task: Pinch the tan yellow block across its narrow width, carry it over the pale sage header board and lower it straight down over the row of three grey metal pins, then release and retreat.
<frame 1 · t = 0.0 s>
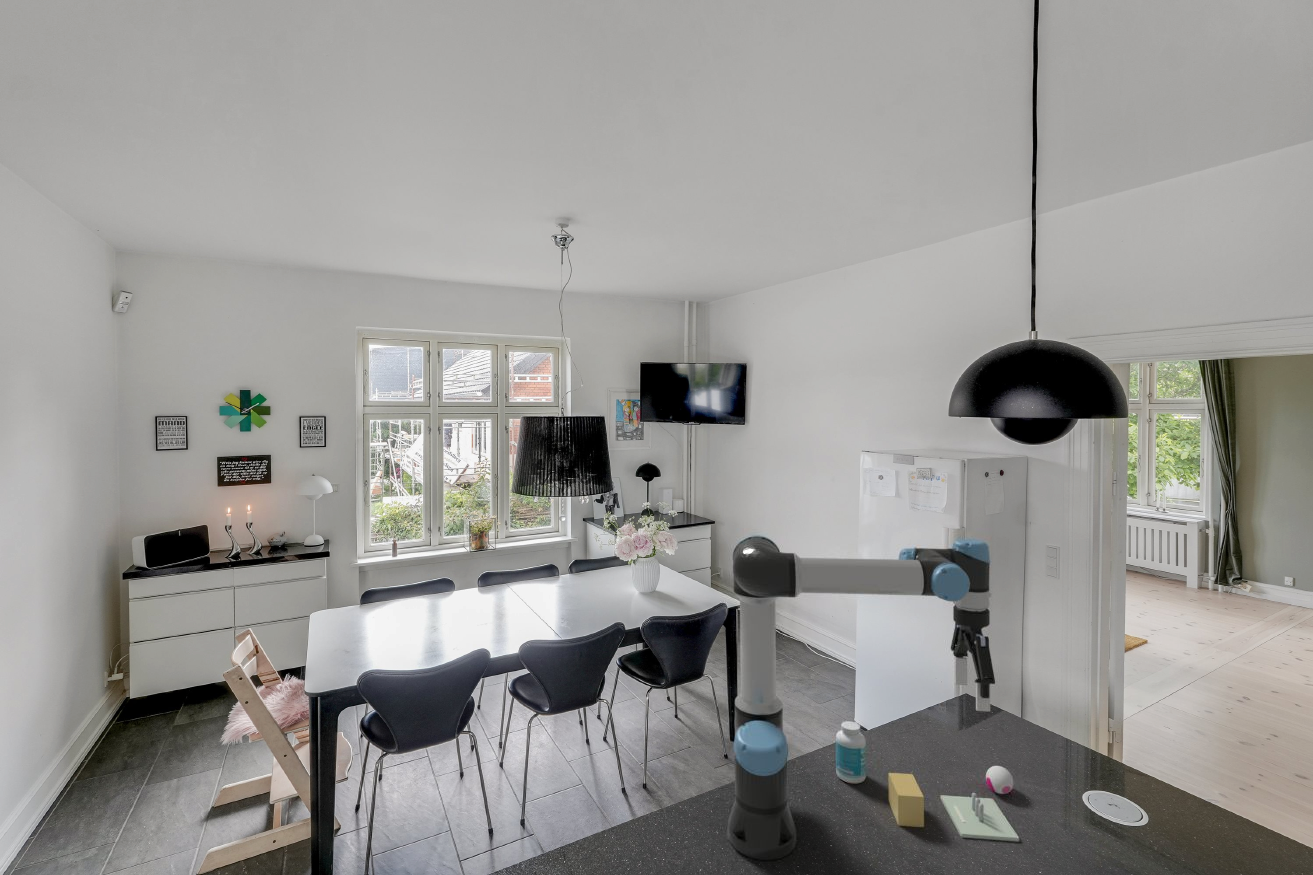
hand: (971, 696, 141), 28 cm above the worktop, fingers open, 13 cm apart
tan yellow block: (905, 813, 142), on the worktop
header board: (977, 818, 140), on the worktop
pill bottle: (850, 777, 157), on the worktop
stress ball: (996, 791, 151), on the worktop
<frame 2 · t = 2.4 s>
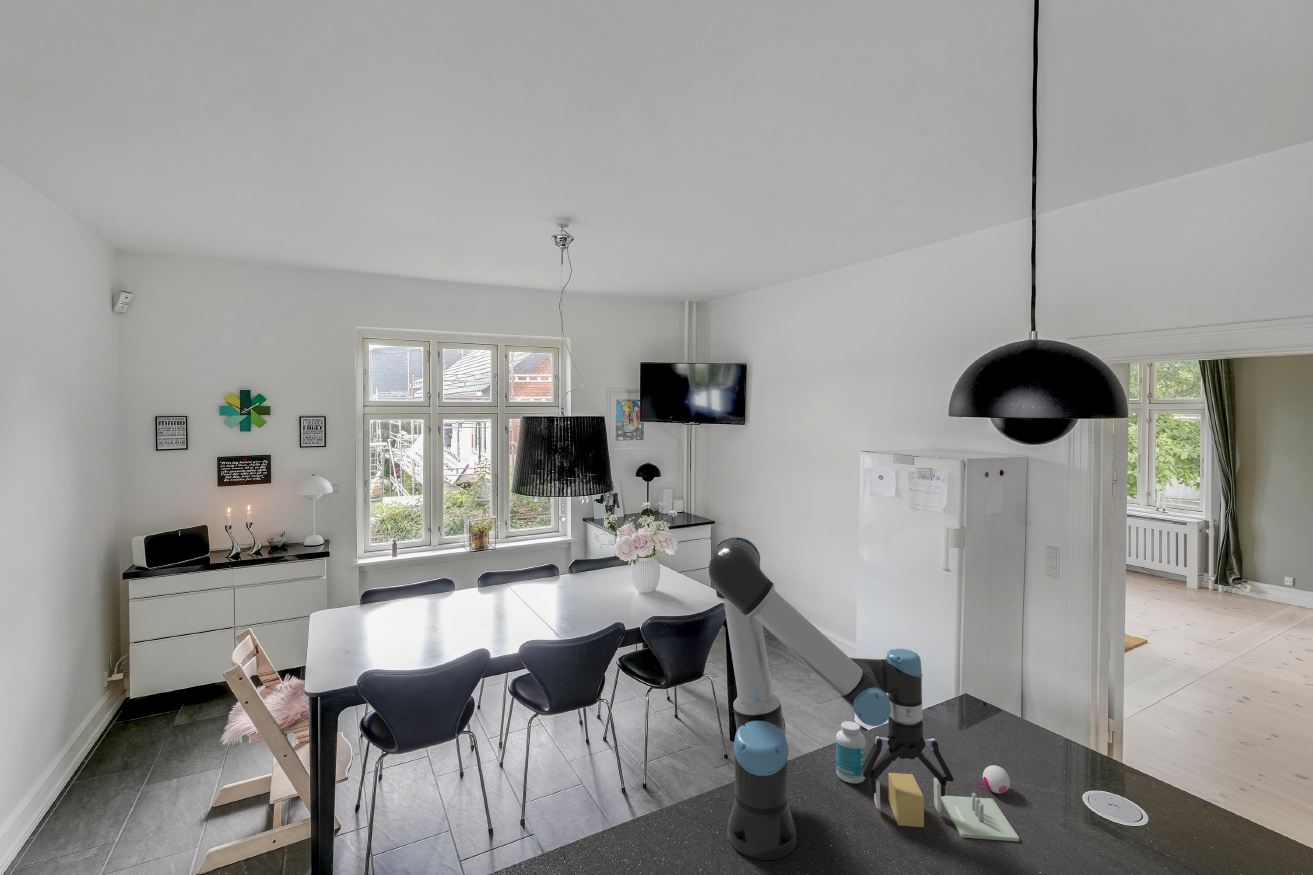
hand: (907, 806, 142), 2 cm above the worktop, fingers open, 13 cm apart
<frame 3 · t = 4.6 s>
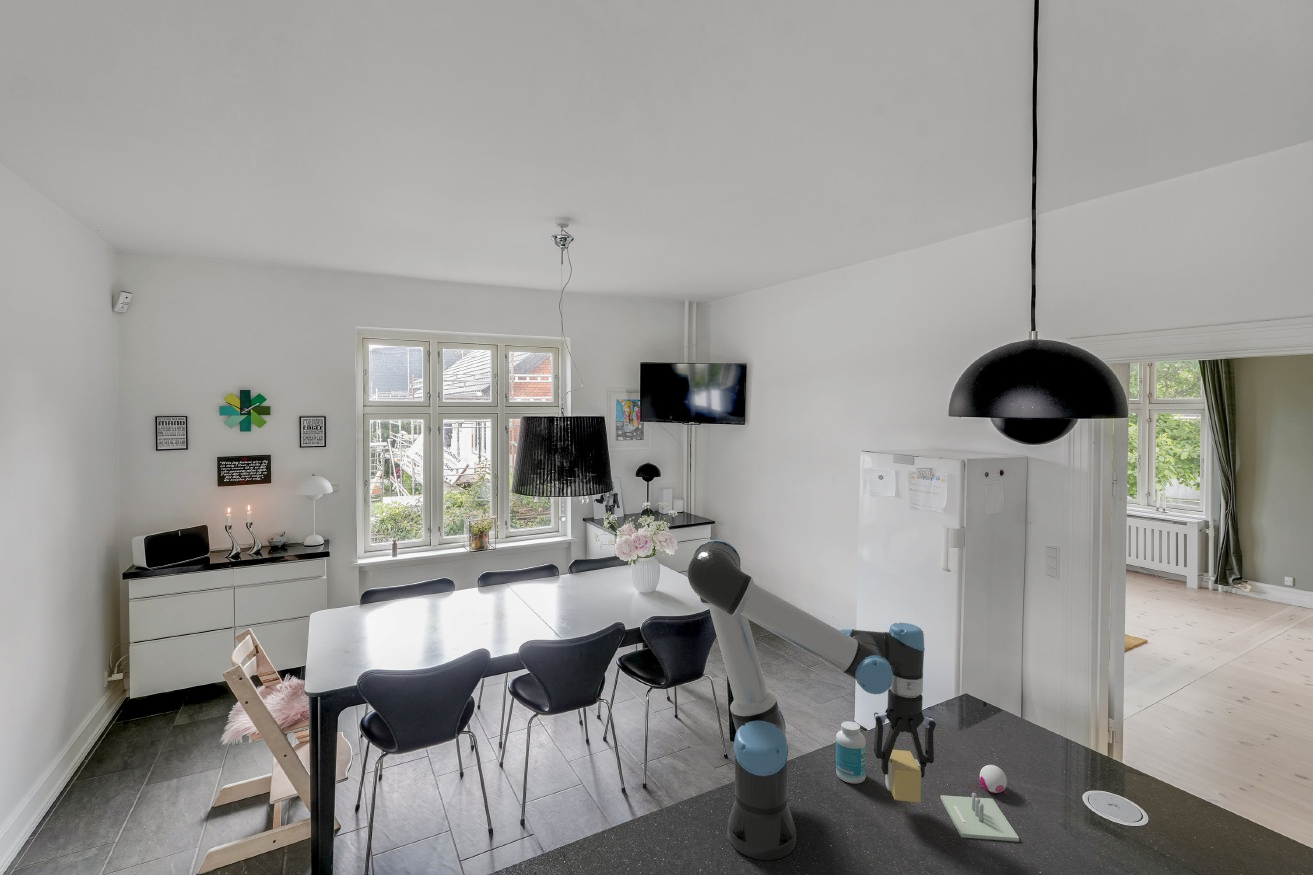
hand: (902, 787, 142), 6 cm above the worktop, fingers closed on tan yellow block, 6 cm apart
tan yellow block: (902, 789, 142), point 6 cm above the worktop, touching gripper
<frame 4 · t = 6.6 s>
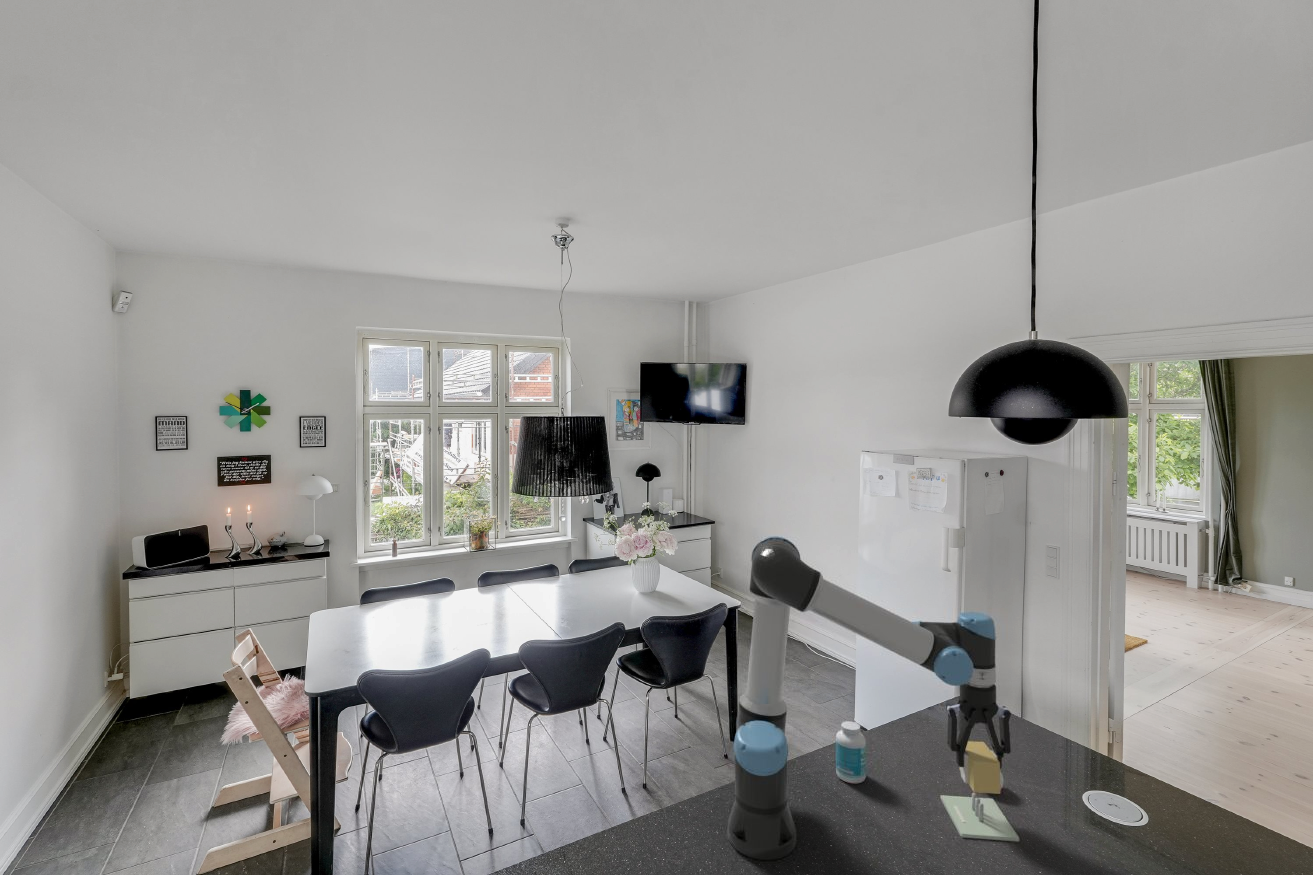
hand: (979, 780, 140), 9 cm above the worktop, fingers closed on tan yellow block, 6 cm apart
tan yellow block: (979, 781, 140), point 9 cm above the worktop, touching gripper
when the fingers open (1 cm above the worktop, at t = 8.8 s): tan yellow block stays where it is, resting on header board.
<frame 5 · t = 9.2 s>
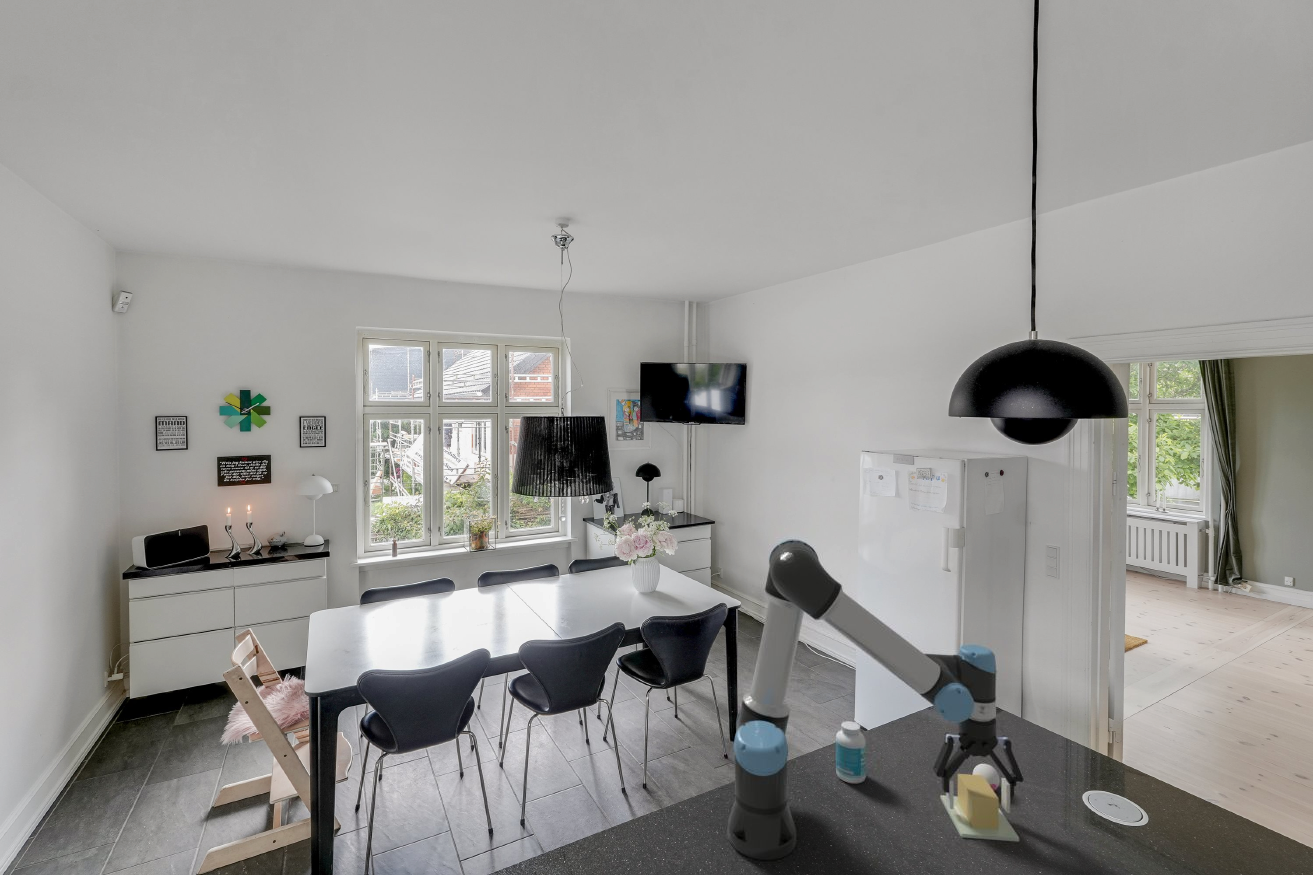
hand: (977, 807, 140), 3 cm above the worktop, fingers open, 11 cm apart
tan yellow block: (977, 815, 140), point 1 cm above the worktop, touching header board
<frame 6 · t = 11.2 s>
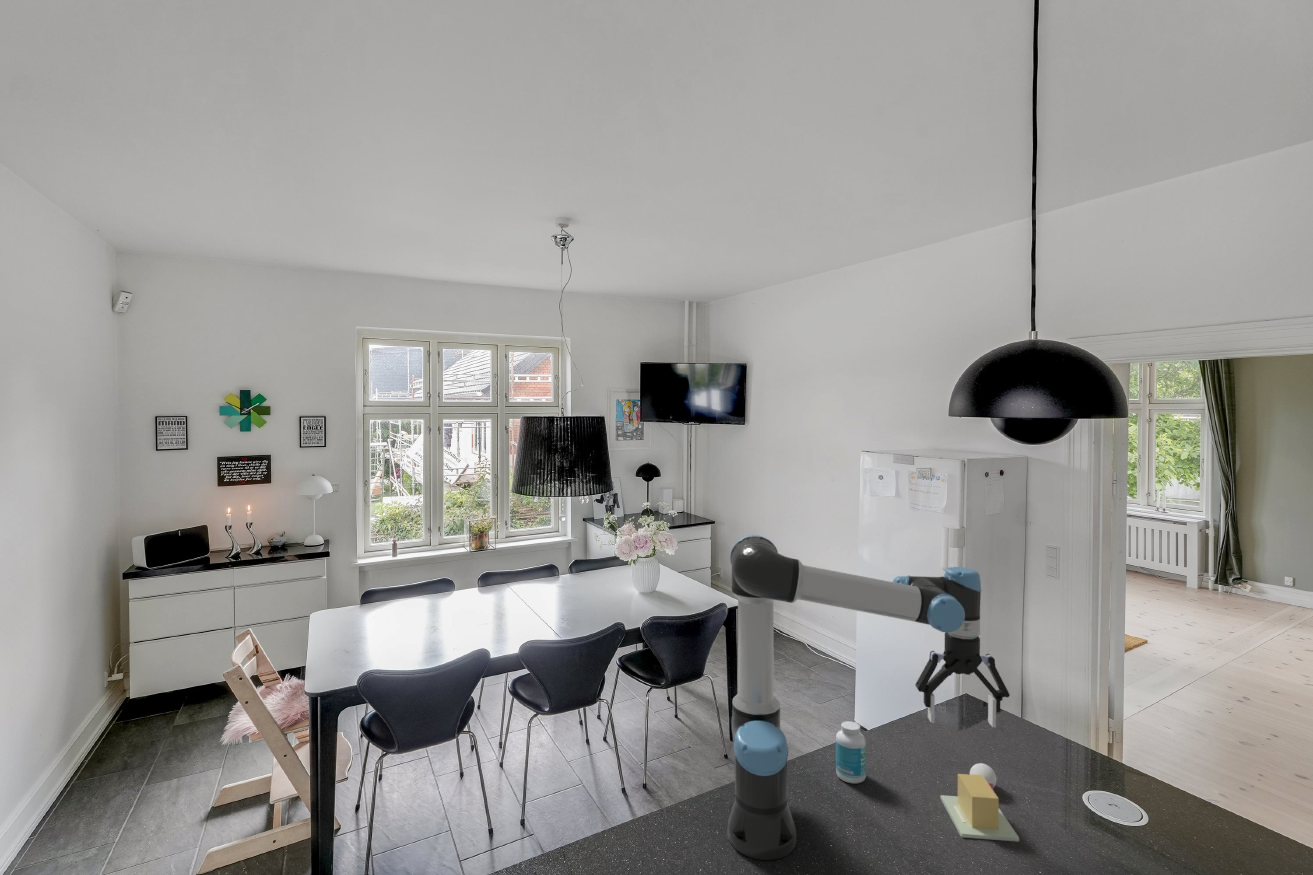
hand: (961, 722, 143), 21 cm above the worktop, fingers open, 13 cm apart
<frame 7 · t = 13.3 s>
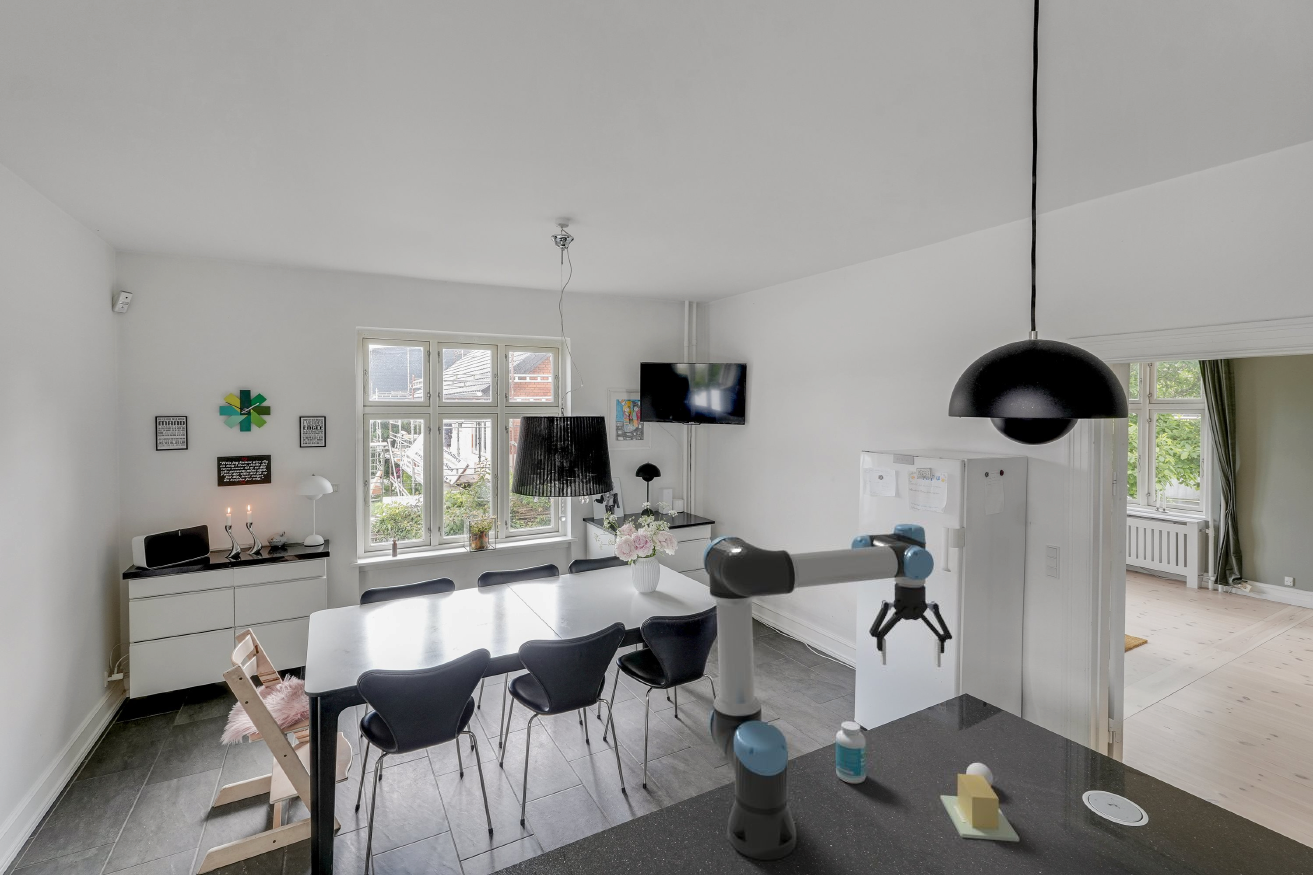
hand: (910, 663, 159), 29 cm above the worktop, fingers open, 13 cm apart
at the end: tan yellow block 0.0 cm off-centre on the header board, point 0.8 cm above the header board's base; tan yellow block tilted 0°; the gripper is holding nothing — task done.
